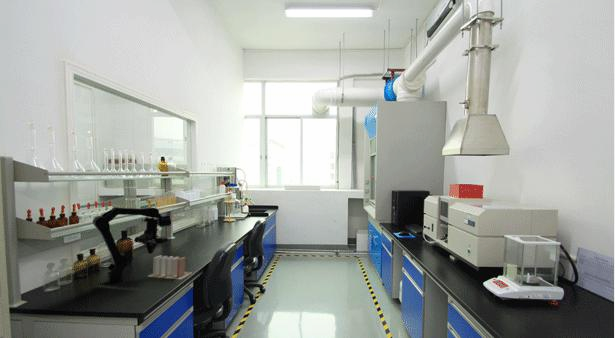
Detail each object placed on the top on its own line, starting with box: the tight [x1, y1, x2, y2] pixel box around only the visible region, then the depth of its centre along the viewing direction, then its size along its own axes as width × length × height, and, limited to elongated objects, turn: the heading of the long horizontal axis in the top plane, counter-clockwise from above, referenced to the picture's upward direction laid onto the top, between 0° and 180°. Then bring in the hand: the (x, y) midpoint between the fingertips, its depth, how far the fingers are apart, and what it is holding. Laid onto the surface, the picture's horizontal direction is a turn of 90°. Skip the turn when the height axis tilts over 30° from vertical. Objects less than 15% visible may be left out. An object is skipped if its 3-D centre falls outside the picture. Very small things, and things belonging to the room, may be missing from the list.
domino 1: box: [152, 255, 163, 275], centre depth 152 cm, size 2×5×10 cm, turn 171°
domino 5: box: [177, 256, 186, 277], centre depth 150 cm, size 2×5×10 cm, turn 171°
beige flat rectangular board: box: [147, 271, 193, 280], centre depth 151 cm, size 22×11×1 cm, turn 81°
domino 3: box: [165, 255, 175, 276], centre depth 151 cm, size 2×5×10 cm, turn 171°
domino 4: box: [171, 256, 180, 276], centre depth 151 cm, size 2×5×10 cm, turn 171°
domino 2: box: [159, 255, 169, 275], centre depth 152 cm, size 2×5×10 cm, turn 171°
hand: (150, 253), depth 153 cm, fingers closed
